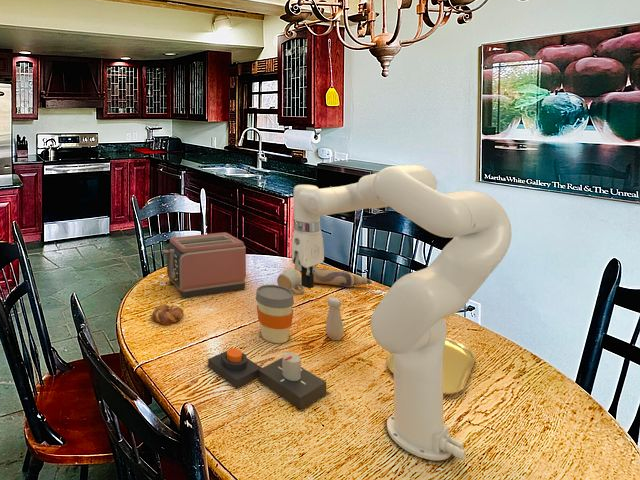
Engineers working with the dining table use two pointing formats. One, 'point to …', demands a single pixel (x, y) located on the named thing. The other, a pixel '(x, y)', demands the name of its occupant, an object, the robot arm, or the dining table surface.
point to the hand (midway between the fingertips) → (307, 286)
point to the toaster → (206, 264)
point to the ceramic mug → (290, 280)
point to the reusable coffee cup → (275, 312)
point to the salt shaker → (334, 319)
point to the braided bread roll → (167, 314)
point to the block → (234, 369)
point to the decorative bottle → (338, 278)
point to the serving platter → (451, 366)
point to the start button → (234, 355)
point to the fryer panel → (293, 384)
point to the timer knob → (291, 366)
